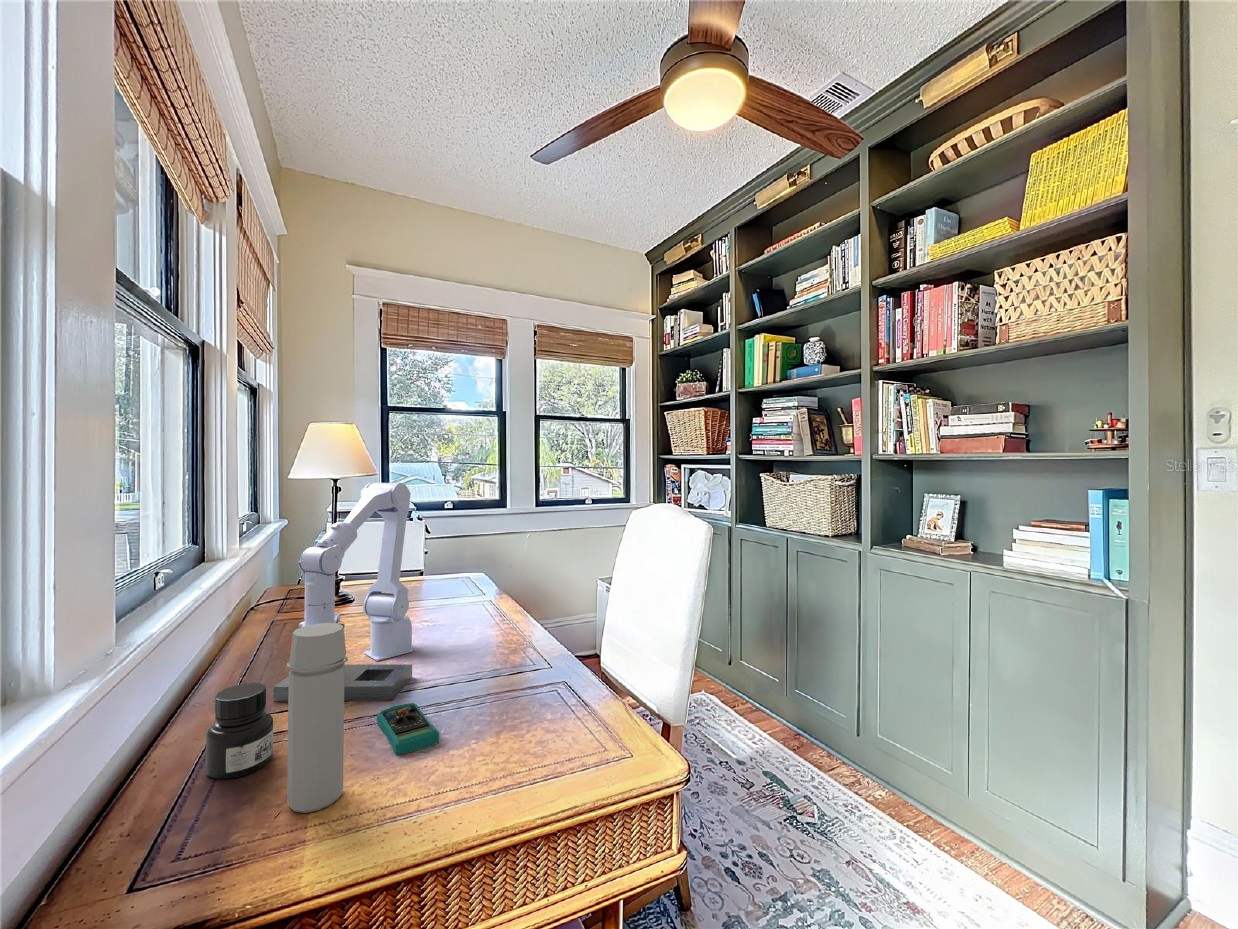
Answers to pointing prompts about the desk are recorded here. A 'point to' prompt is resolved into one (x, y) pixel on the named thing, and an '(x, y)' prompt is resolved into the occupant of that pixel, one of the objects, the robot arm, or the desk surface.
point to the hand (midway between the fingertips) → (319, 664)
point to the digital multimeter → (407, 728)
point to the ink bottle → (239, 732)
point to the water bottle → (316, 716)
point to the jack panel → (365, 682)
